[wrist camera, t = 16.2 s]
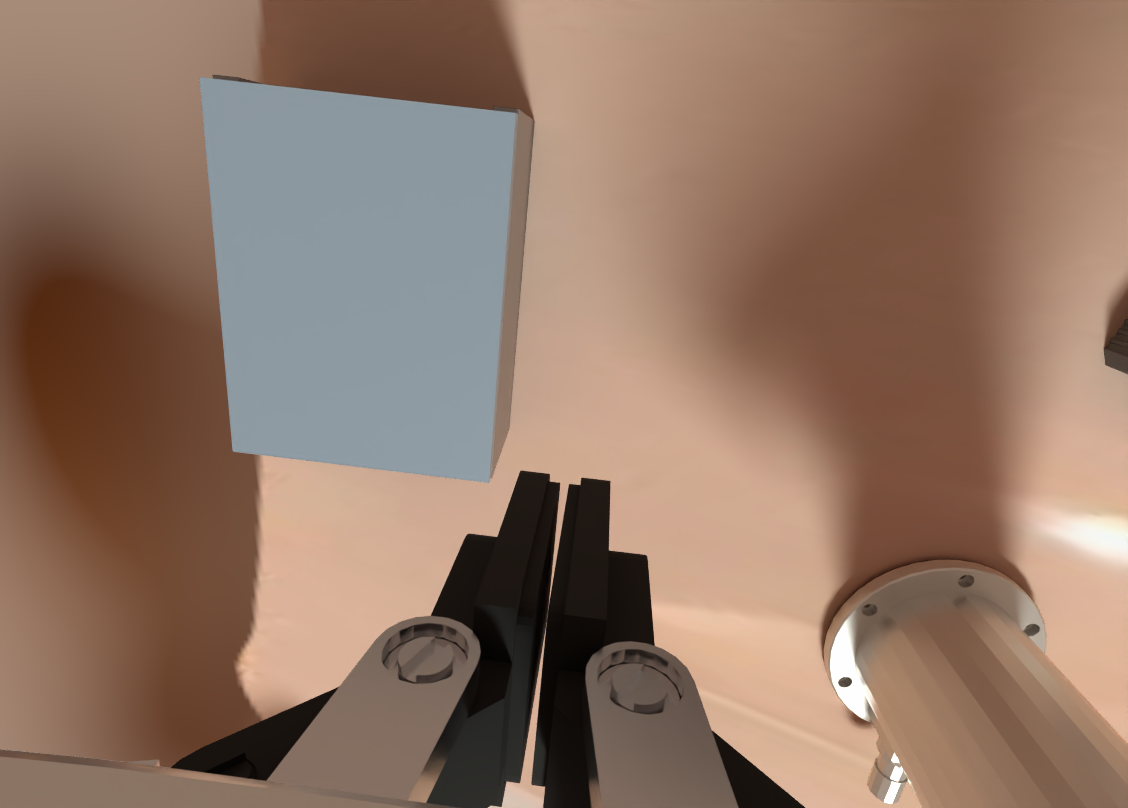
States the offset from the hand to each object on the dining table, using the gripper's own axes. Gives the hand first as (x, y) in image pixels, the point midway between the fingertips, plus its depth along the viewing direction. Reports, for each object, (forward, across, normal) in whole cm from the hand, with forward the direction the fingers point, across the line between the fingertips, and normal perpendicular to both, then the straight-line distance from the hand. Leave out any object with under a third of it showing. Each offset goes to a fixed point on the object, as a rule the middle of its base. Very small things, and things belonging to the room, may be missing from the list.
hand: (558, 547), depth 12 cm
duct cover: (+16, +10, -1) cm, 19 cm away
